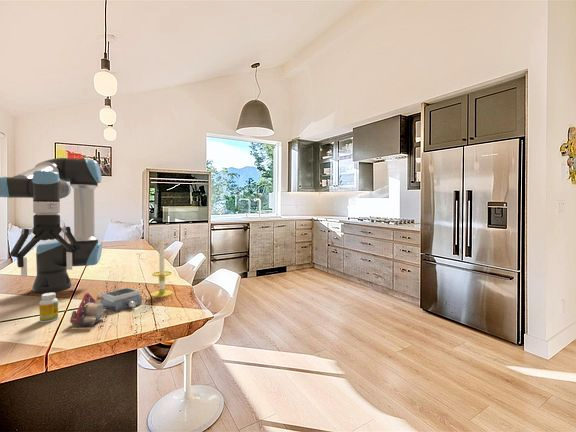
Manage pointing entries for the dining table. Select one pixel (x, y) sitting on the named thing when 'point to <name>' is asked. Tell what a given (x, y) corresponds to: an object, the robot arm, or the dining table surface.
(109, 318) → the dining table surface
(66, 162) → the robot arm
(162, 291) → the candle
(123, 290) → the gray drawer
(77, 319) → the brake caliper
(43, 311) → the supplement bottle
